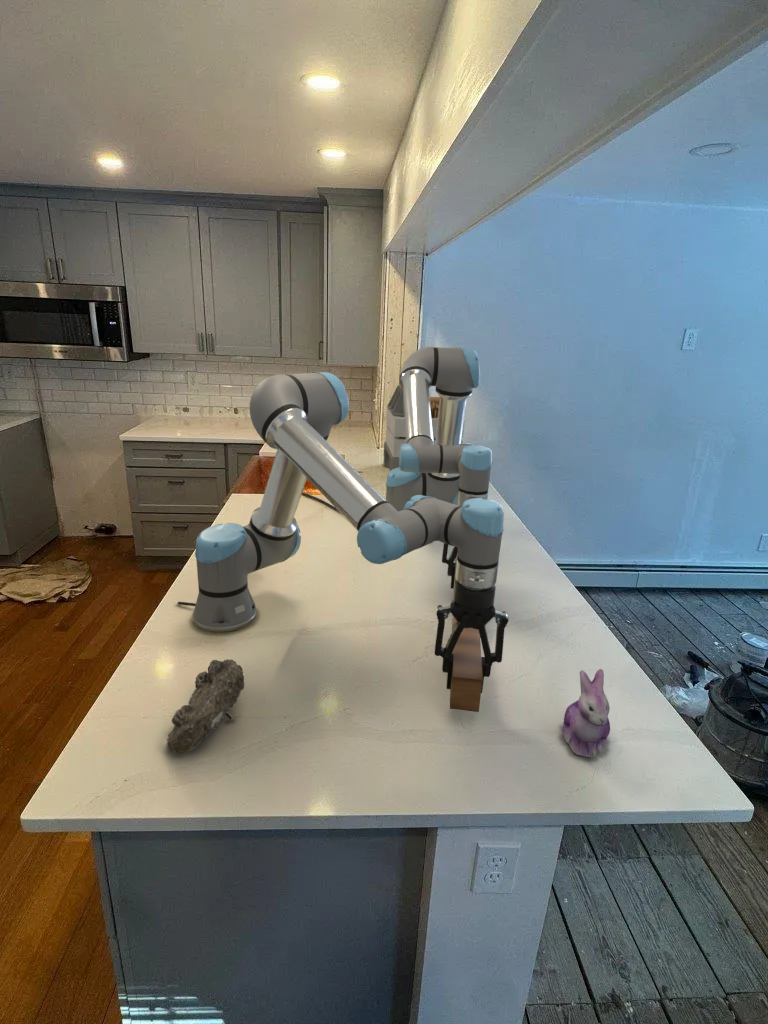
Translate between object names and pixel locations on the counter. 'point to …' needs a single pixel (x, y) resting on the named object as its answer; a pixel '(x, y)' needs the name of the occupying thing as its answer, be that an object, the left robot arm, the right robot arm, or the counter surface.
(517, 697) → the counter surface
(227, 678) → the fossil
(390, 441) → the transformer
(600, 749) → the figurine
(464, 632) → the bar
